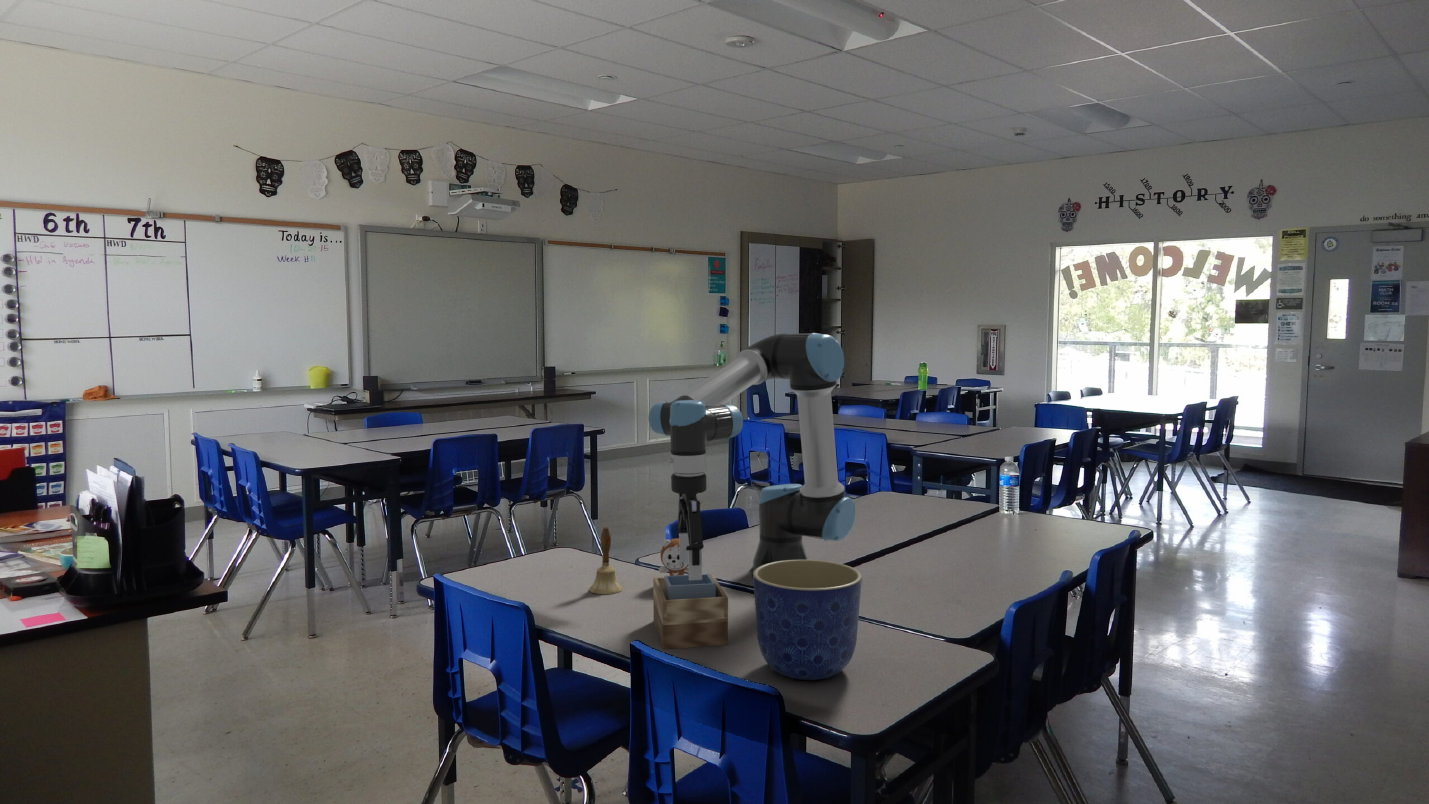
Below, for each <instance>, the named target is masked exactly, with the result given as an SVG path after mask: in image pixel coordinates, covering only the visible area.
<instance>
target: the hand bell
mask: <svg viewBox="0 0 1429 804" xmlns="http://www.w3.org/2000/svg"><path fill="white" fill-rule="evenodd" d="M611 545H612V536H611V533H610V529H609V527H606V526H605V527H603V528H602V532H601V535H600V547H601V550H602V563H601V564H602V565H601V566H600V567H598V568H597V569H596V573H595V574H596V575H595V579H594V581H593V583H592V585H591V586H590V587H589V588H588V590H589V592H590V593H592V594H596V595H613V594H618V593H619V592H622V591H623V587H622V585H621V584H619V582H618V580H617V577H616V571H615V568H614V567H612V566H610V549H611Z"/></svg>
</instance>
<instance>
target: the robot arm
mask: <svg viewBox="0 0 1429 804" xmlns="http://www.w3.org/2000/svg"><path fill="white" fill-rule="evenodd" d="M844 356H845V355H844V351H843V349H842V347H841V345H840V343H839V341H838V340H836V338H835V337H833V336H832V335H831V334H830V335H829V334H826V333H825V334H824V333H823V334H822V333H817V332H811V333H810V332H809V333H807V332H805V333H778V334H777V333H776V334H773V335H769V336H767V337H765V338H763V339H760V340H758V341H757V342H755V343H753V344H751V345H749V346H747V347H746V348H745V349H743V350H741V351H740V352H738V354H737V355H736V358H735V360H733V361H732V362H730V363H729V364H726V366H724V367H723V368H721V369H719V370H718V371H716V372H715V373H713V374H712V375H711V376H709V377H708V378H706V379H705V380H703V381H701V382H700V383H699V384H697V385H695V386H694V387H693V388H690V389H689V390H688V391H686V392H685V393H682V395H680V396H679V397H677V398H676V399H673V400H672V401H669V402H668V401H661V402H656V403H655V404H653V405H652V407H651V408H650V409H649V413H648V422H649V423H648V424H649V427H650V429H651V430H652V431H653V432H654V433H656V434H659V435H662V436H663V435H664V436H666V437H667V436H669V437H670V456H671V458H668V459H667V462H668V463H669V464H670V465H671V466H670V469H671V472H672V474H671V476H670V481H671V482H670V485H671V487H670V488H671V492H672V493H675V494H678V512H677V524H676V525H677V527H678V529H677V530H678V532H679V533H678V539H679V559H680V563H681V562H688V567H687V568H688V570H689V573H688V575H689V580H702V574H703V561H702V560H703V558H702V557H703V554H702V551H703V550H702V549H704V547H705V546H704V542H703V530H702V529H703V528H702V518H701V501H700V500H698V497H697V495H698V494H702V493H705V492H706V491H707V475H706V473H705V472H707V443H709V442H710V443H711V442H715V441H722V440H728V439H730V438H734V437H736V436H738V435H739V434H740V433H741V431H742V429H743V426H744V422H743V421H744V419H743V415H742V412H741V411H740V409H739V408H738V407H736V406H735V405H732V404H727V403H728V402H730V401H731V400H732V399H734V398H736V397H737V396H738V395H740V394H741V393H743V392H744V391H745V390H746V389H748V388H749V387H751V386H753V385H755V386H756V385H757V386H758V385H760V384H762V383H764V382H765V381H769V380H775V379H777V380H778V379H783V380H789V387H790V388H789V389H790V391H792V392H793V393H795V395H796V399H797V409H798V421H799V432H800V442H801V444H800V445H801V454H802V464H803V465H802V466H803V478H804V484H803V485H802V484H800V483H786V484H785V483H784V484H777V485H770V486H766V487H763V488H762V489H761V491H759V492H760V493H759V502H758V505H759V507H758V508H759V511H758V512H759V513H758V514H759V516H758V517H759V518H758V519H759V521H758V522H759V527H758V529H759V541H758V545H757V548H756V551H755V554H754V557H753V560H752V570H753V572H754V571H755V569H757V568H758V567H760V566H762V565H765V564H768V563H772V562H777V561H785V560H809V559H808V555H807V553H806V549H805V546H804V542H803V537H808V538H814V539H818V540H822V541H825V542H826V541H833V542H838V541H842V540H844V539H845V538H846V537H847V536H848V535H849V534H850V531H852V528H853V526H854V523H855V519H856V511H857V508H856V503H855V502H854V500H853V499H852V498H850V497H849V496H846V490H845V486H844V484H842V483H841V482H840V481H839V475H838V465H837V453H836V451H837V450H836V440H835V437H836V436H835V427H834V426H835V425H834V416H833V403H832V401H833V400H832V391H833V390H834V389H835V387H836V386H837V381H838V380H839V379H840V378H841V377H842V374H843V373H844V370H843V369H845V357H844Z"/></svg>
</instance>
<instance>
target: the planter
mask: <svg viewBox="0 0 1429 804" xmlns="http://www.w3.org/2000/svg"><path fill="white" fill-rule="evenodd" d="M752 576H753V577H752V579H753V580H752V581H753V592H754V593H753V594H754V605H755V606H754V607H755V609H754V610H755V621H756V622H755V625H756V636H757V642H758V643H757V644H758V646H759V651H760V653H761V656H762V657H763V659H764V661H765V662H766V664H767V665H768V666H769V667H770V668H771V669H772V670H773V671H774V672H776V673H777V674H780V675H782V676H783V677H786V678H790V679H794V680H800V681H801V680H802V681H818V680H824V679H828V678H831V677H835V676H836V675H837V674H840V673H841V672H842V671H843V670H844V669H845V668H846V667H847V666H848V664H849V663H850V661H851V660H852V658H853V655H854V652H855V649H856V645H857V641H858V640H857V638H858V628H859V618H860V608H861V607H860V604H861V593H862V581H863V579H862V578H863V576H862V574H861V572H860V571H859V570H857V569H856V568H854V567H852V566H850V565H846V564H843V563H839V562H835V561H834V562H833V561H827V560H819V559H808V560H785V561H777V562H772V563H768V564H765V565H762V566H760V567H758V568H757V569H755V571H754V570H753V573H752Z"/></svg>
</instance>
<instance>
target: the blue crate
mask: <svg viewBox="0 0 1429 804" xmlns="http://www.w3.org/2000/svg"><path fill="white" fill-rule="evenodd" d="M710 575H711V574H710V573H702V580H689V574H684V575H674V576H670V575H664V576H663V577H664V596H665V598H666V600H675V599H693V598H710V597H716V584H715V582H714V581H713V579H712V577H711V576H710Z"/></svg>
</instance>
